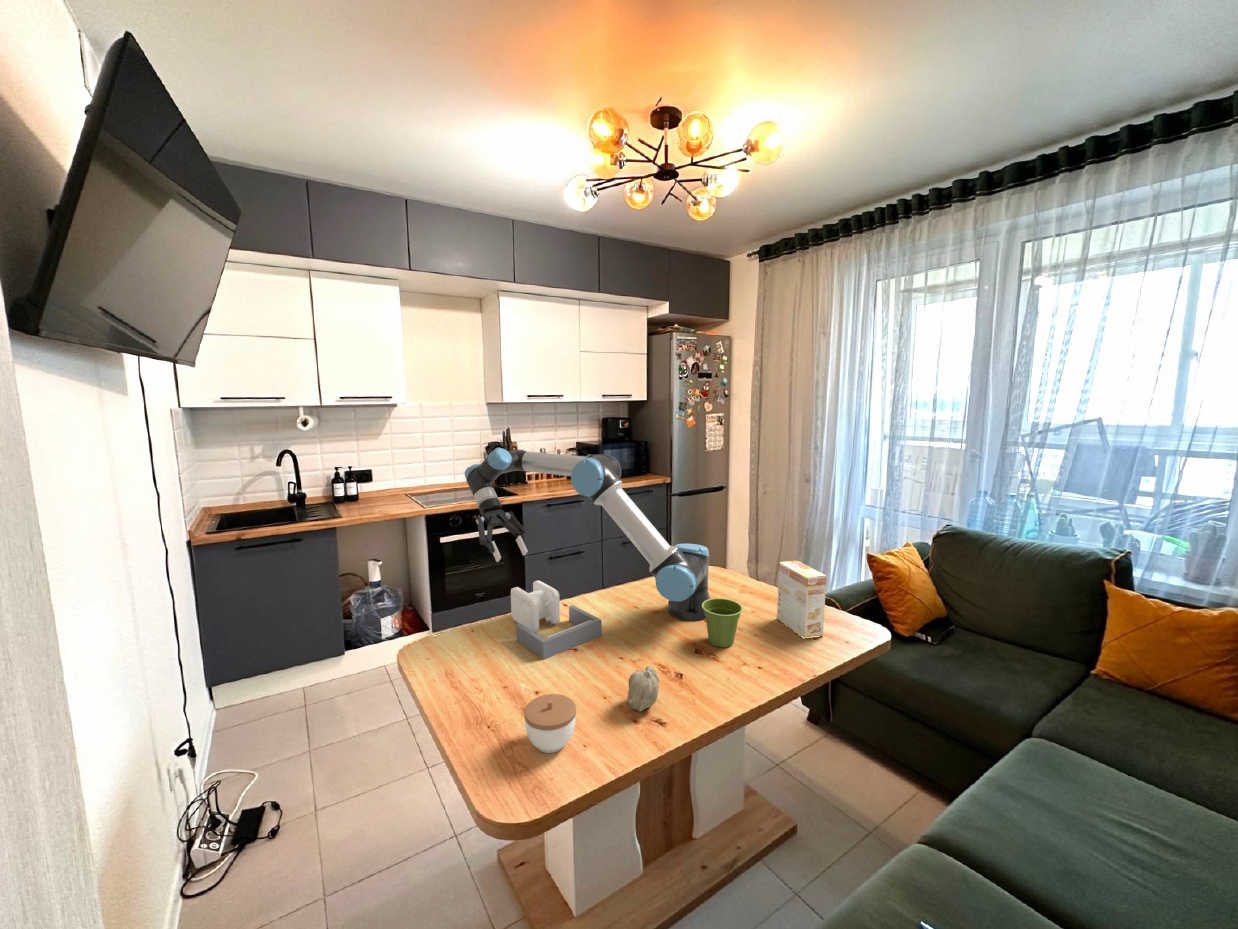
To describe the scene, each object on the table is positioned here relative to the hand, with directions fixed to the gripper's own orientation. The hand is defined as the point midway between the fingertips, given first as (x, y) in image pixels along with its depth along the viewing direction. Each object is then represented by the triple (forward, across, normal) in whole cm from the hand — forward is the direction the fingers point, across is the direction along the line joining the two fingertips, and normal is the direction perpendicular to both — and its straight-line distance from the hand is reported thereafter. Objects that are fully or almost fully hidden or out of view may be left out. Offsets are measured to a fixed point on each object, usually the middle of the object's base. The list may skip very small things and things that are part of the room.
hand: (512, 556), depth 166 cm
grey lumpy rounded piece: (+61, +5, +34) cm, 70 cm away
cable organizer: (+23, 0, -4) cm, 23 cm away
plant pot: (+57, -34, +30) cm, 72 cm away
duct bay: (+32, 0, +5) cm, 32 cm away
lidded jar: (+58, +28, +31) cm, 71 cm away
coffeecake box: (+64, -60, +37) cm, 96 cm away
